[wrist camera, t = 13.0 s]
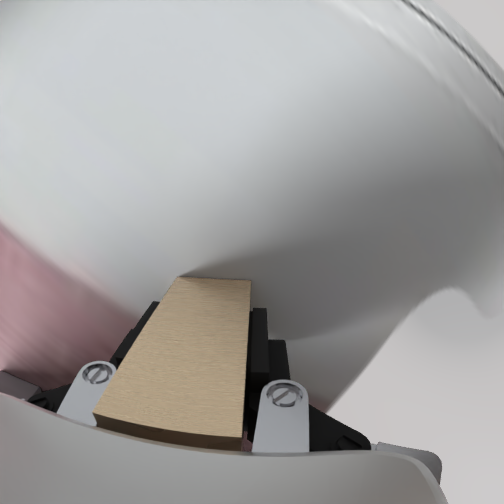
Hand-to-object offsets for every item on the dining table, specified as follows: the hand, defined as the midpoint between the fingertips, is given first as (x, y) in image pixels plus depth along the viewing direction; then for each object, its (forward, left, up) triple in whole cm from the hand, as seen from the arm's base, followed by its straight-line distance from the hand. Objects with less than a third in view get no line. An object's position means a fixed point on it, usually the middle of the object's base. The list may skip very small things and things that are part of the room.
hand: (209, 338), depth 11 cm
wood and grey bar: (+10, 0, -2) cm, 10 cm away
